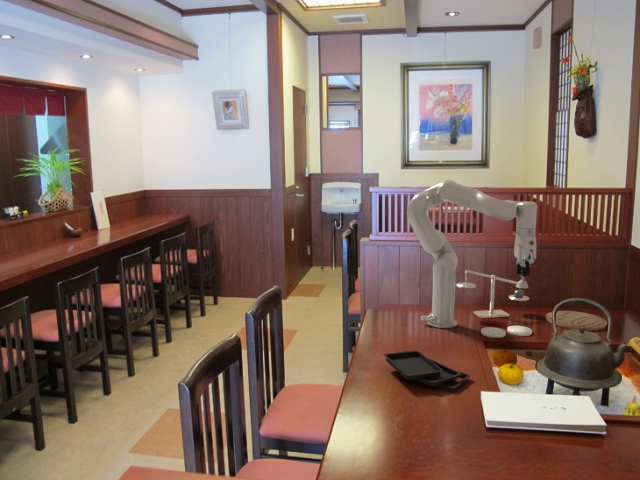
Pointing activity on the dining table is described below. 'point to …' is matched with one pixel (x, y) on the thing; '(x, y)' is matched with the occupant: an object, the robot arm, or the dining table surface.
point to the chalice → (519, 255)
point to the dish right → (519, 330)
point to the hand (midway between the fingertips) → (522, 274)
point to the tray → (424, 369)
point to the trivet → (577, 320)
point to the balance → (493, 313)
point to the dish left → (493, 332)
